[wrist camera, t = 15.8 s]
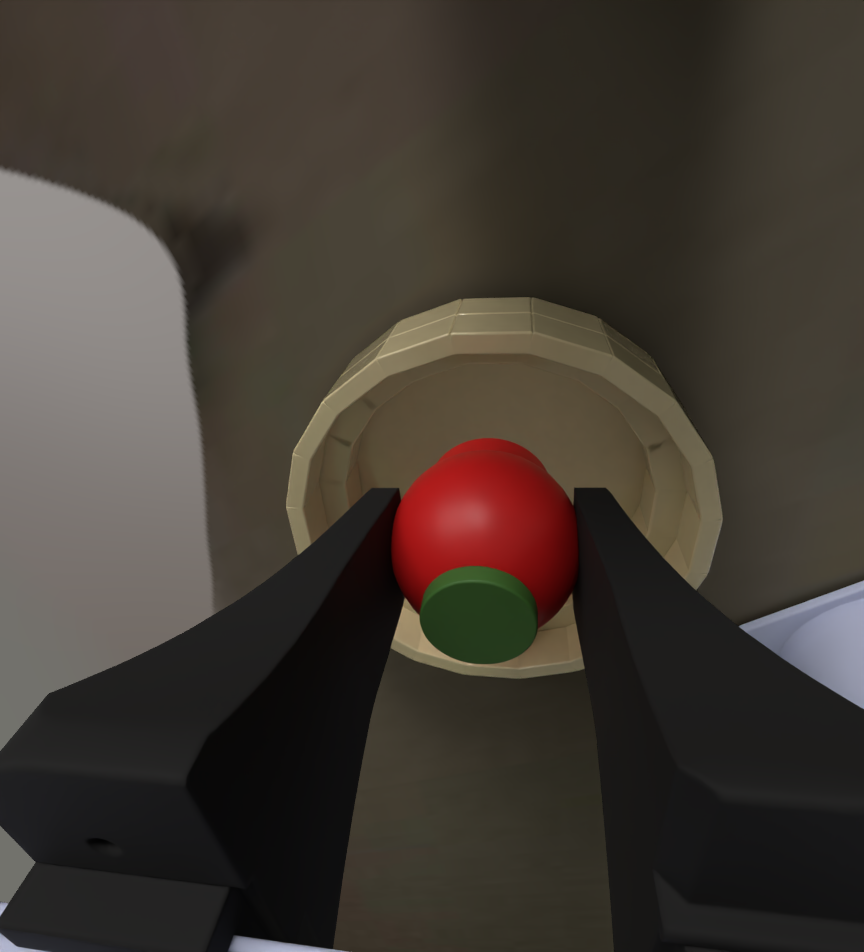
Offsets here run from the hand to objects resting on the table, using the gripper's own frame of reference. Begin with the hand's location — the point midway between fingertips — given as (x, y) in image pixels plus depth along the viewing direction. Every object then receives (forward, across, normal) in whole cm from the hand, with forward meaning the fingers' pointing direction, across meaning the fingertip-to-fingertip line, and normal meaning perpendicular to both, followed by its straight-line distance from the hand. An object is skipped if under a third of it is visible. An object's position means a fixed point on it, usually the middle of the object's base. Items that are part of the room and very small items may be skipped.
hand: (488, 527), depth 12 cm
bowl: (+8, 0, +4) cm, 9 cm away
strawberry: (+1, 0, 0) cm, 1 cm away
